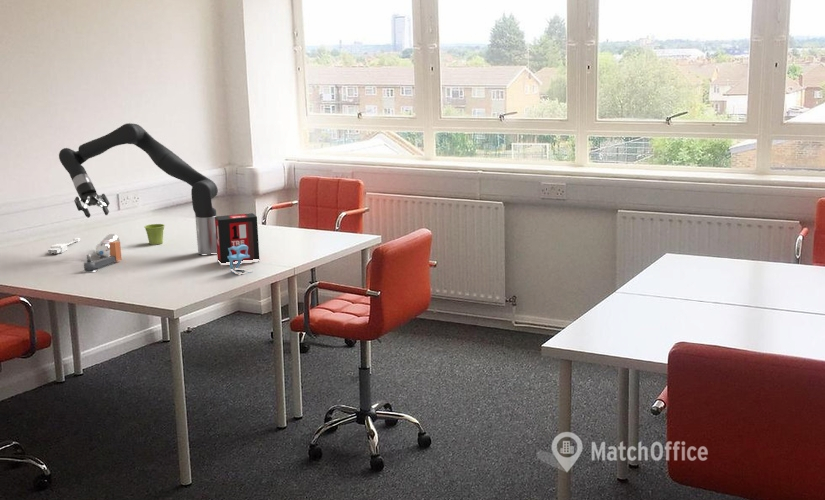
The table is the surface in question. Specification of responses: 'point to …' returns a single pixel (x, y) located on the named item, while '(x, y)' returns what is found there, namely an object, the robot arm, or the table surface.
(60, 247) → the charging cable
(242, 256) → the chair
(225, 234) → the black and red box
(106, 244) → the water bottle
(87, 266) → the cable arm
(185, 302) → the table surface
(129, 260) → the table surface
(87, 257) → the pivot base
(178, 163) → the robot arm
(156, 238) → the plant pot
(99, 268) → the grey rectangular frame
